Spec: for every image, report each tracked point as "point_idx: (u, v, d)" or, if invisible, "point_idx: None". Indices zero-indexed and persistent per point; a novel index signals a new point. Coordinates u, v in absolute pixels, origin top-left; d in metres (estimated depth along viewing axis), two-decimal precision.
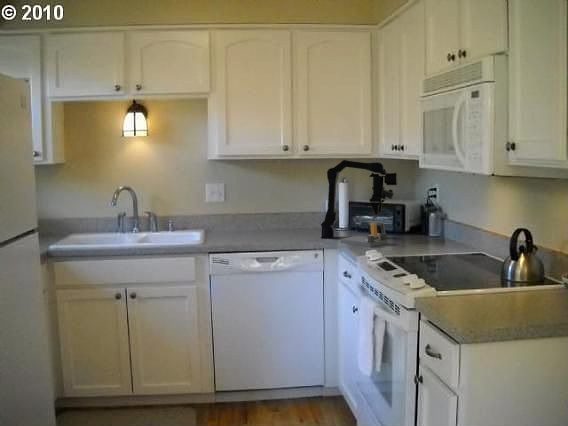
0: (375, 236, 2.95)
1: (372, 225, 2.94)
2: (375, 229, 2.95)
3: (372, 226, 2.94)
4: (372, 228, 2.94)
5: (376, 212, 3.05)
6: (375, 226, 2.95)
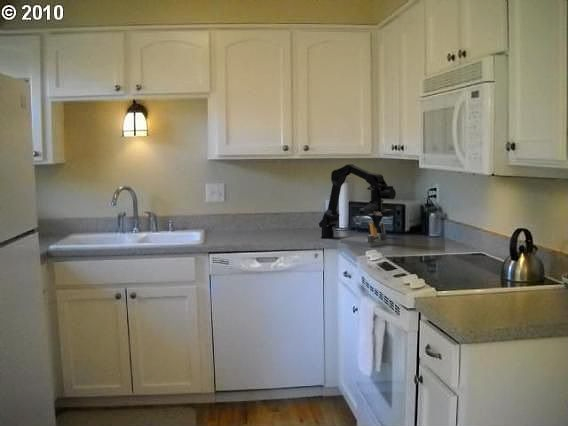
0: (375, 236, 2.95)
1: (371, 225, 2.95)
2: (375, 229, 2.95)
3: (371, 226, 2.95)
4: (371, 228, 2.95)
5: None
6: (374, 226, 2.95)
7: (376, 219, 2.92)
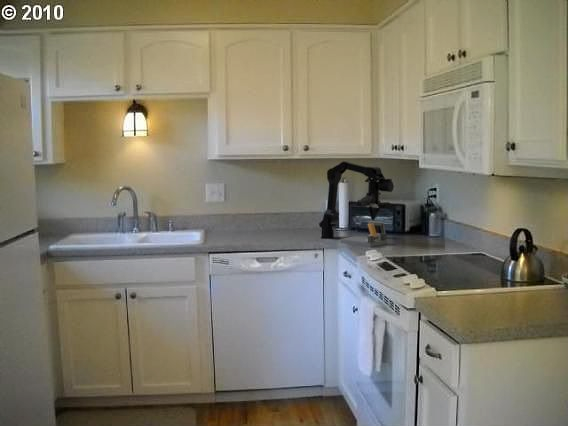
0: (375, 236, 2.95)
1: (370, 225, 2.95)
2: (373, 229, 2.96)
3: (370, 226, 2.95)
4: (370, 228, 2.95)
5: None
6: (373, 226, 2.96)
7: (373, 211, 2.97)
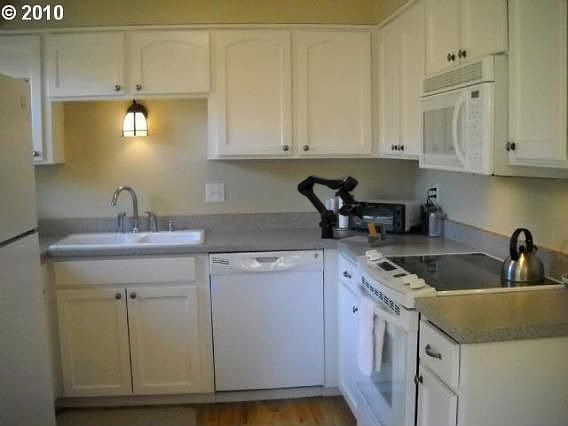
0: (375, 236, 2.95)
1: (370, 225, 2.95)
2: (373, 229, 2.96)
3: (370, 226, 2.95)
4: (370, 228, 2.95)
5: None
6: (373, 226, 2.96)
7: None
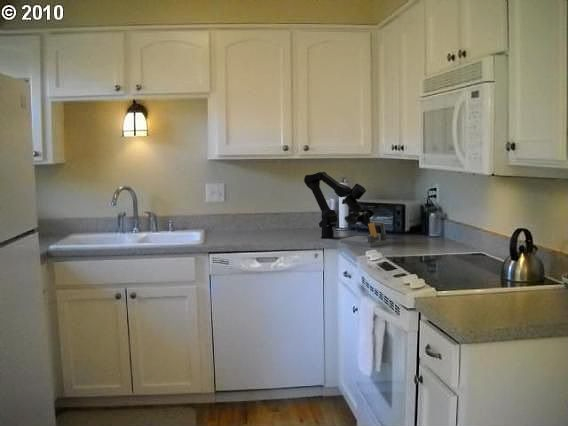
0: (375, 236, 2.95)
1: (370, 225, 2.95)
2: (374, 229, 2.96)
3: (370, 226, 2.95)
4: (370, 228, 2.95)
5: None
6: (373, 226, 2.96)
7: None
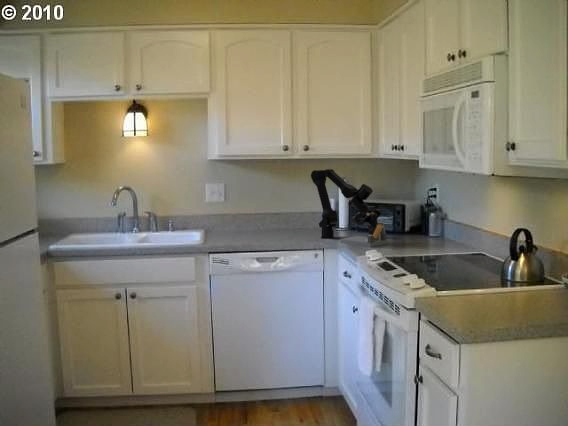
0: (376, 237, 2.95)
1: (378, 228, 2.92)
2: (379, 231, 2.93)
3: (377, 228, 2.92)
4: (377, 230, 2.92)
5: None
6: (380, 229, 2.93)
7: None
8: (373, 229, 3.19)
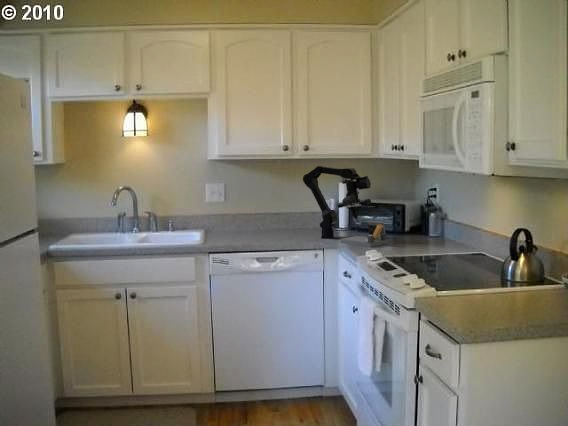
0: (376, 237, 2.95)
1: (378, 228, 2.92)
2: (379, 231, 2.93)
3: (378, 228, 2.92)
4: (377, 230, 2.92)
5: None
6: (380, 229, 2.93)
7: (355, 210, 3.07)
8: (373, 229, 3.19)
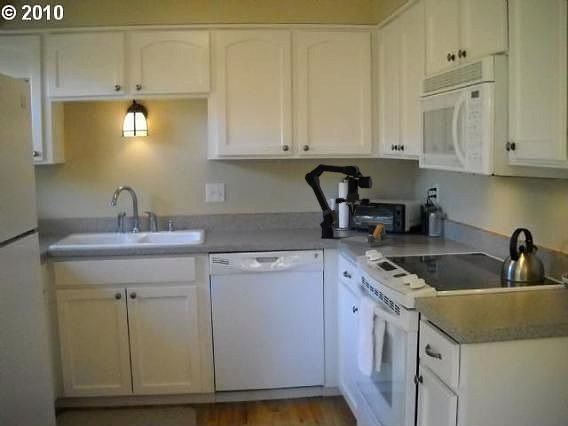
0: (376, 237, 2.95)
1: (378, 228, 2.92)
2: (379, 231, 2.93)
3: (378, 228, 2.92)
4: (377, 230, 2.92)
5: None
6: (380, 229, 2.93)
7: (354, 208, 3.09)
8: (373, 229, 3.19)
